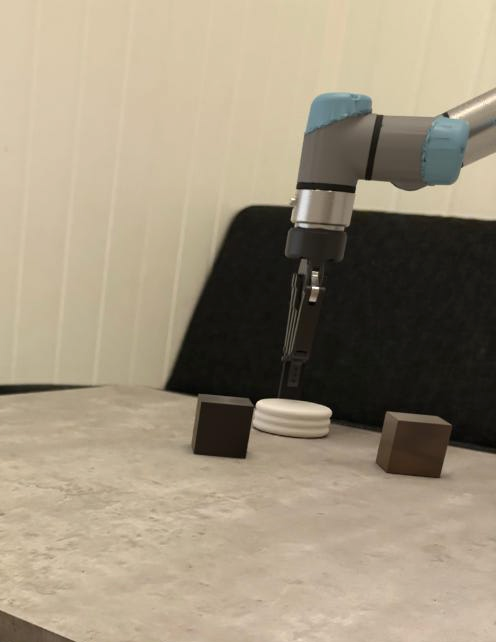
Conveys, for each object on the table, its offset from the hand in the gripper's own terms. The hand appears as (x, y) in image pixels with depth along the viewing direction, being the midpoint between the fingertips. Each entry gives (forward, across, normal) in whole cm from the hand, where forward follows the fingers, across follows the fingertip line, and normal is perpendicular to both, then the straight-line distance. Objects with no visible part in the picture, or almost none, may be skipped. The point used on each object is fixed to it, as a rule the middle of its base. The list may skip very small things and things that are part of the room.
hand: (286, 409), depth 141 cm
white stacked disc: (+2, +6, 0) cm, 6 cm away
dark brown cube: (+2, +25, -11) cm, 27 cm away
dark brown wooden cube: (+2, +25, +11) cm, 27 cm away
